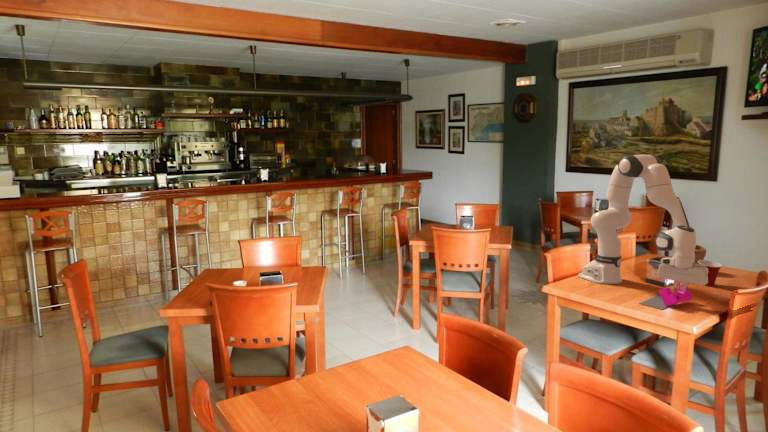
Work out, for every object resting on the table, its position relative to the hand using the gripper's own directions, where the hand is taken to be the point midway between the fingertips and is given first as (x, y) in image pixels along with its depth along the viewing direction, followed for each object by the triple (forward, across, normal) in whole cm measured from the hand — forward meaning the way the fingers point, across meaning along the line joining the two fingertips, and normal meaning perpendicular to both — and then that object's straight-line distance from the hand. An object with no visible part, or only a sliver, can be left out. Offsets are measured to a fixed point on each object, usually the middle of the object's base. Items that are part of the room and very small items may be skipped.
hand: (681, 290), depth 231 cm
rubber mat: (+7, +8, 0) cm, 10 cm away
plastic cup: (+7, +5, -44) cm, 45 cm away
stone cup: (+6, +21, -67) cm, 71 cm away
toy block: (+5, -1, 0) cm, 5 cm away
